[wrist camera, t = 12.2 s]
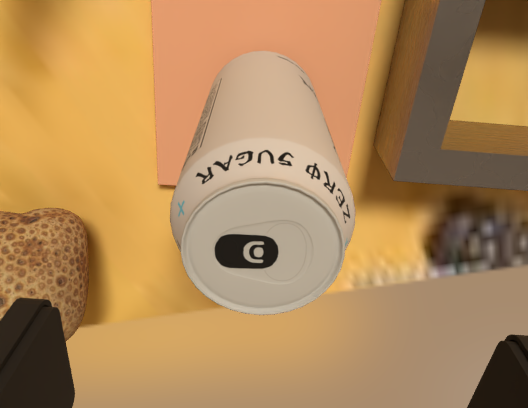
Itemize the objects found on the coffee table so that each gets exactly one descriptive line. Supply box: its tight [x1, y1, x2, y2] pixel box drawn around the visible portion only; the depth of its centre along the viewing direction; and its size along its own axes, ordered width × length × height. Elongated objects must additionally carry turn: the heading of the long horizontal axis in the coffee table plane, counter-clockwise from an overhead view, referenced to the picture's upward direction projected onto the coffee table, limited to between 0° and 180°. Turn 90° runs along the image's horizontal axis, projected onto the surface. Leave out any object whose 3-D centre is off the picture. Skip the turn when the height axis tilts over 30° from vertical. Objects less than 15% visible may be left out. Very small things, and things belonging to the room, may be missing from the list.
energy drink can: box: [170, 51, 355, 315], centre depth 20 cm, size 6×6×15 cm
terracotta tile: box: [151, 0, 381, 186], centre depth 26 cm, size 12×12×1 cm
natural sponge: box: [0, 208, 89, 342], centre depth 27 cm, size 9×9×10 cm
